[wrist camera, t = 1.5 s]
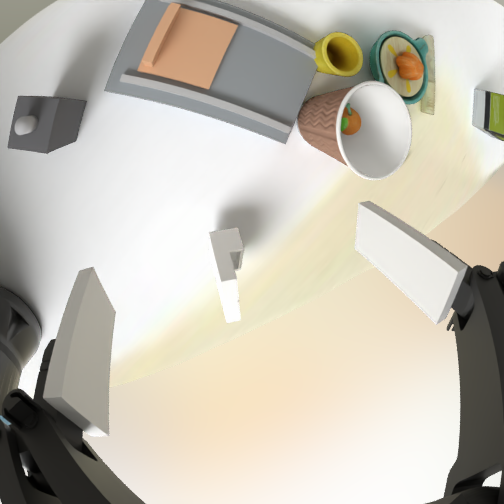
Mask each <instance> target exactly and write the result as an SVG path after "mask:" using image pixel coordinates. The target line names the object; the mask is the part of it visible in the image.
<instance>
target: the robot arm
mask: <svg viewBox="0 0 504 504" xmlns="http://www.w3.org/2000/svg"><path fill="white" fill-rule="evenodd" d="M355 249H356V250H357V251H358V252H359V253H360V254H361V255H362V256H364V257H365V258H366V259H367V260H368V261H369V262H370V263H372V264H373V265H374V266H375V267H376V268H377V269H378V270H379V271H381V272H382V273H383V274H384V275H385V276H386V277H387V278H388V279H389V280H390V281H391V282H393V283H394V284H395V285H396V286H397V287H398V288H399V289H400V290H401V291H402V292H403V293H404V294H405V295H406V296H407V297H409V298H410V299H411V300H412V301H413V302H414V303H415V304H416V305H417V306H418V307H419V308H420V309H421V310H422V311H423V312H424V313H425V314H426V315H427V316H428V317H429V318H430V319H431V320H432V321H433V322H434V323H435V324H436V325H437V324H438V323H440V322H441V321H442V320H444V319H445V318H446V317H447V315H448V313H449V311H450V309H451V308H453V309H454V310H455V312H454V314H453V316H452V318H451V320H450V322H449V324H448V326H447V330H448V331H449V329H450V327H451V325H452V324H454V327H453V328H452V331H455V336H456V343H457V351H458V361H459V375H460V401H461V402H460V403H461V408H460V436H459V449H458V457H457V460H456V462H455V463H454V465H453V466H452V468H451V470H450V472H449V474H448V478H447V483H446V488H445V493H444V497H443V498H441V499H439V500H437V501H434V502H430V503H426V504H504V262H501V264H500V266H499V269H498V271H497V272H492V271H491V270H490V269H488V268H486V267H484V266H481V265H477V266H474V267H473V268H471V267H470V266H468V265H467V264H466V263H465V262H463V261H462V260H461V259H459V258H458V257H457V256H455V255H454V254H452V253H451V252H449V251H448V250H447V249H446V248H443V247H442V246H441V245H440V244H438V243H437V242H436V241H434V240H431V239H429V238H428V237H426V236H425V235H424V234H422V233H421V232H419V231H418V230H416V229H414V228H413V227H411V226H410V225H408V224H407V223H405V222H404V221H402V220H400V219H399V218H397V217H396V216H394V215H392V214H391V213H389V212H387V211H386V210H384V209H383V208H381V207H379V206H377V205H376V204H374V203H372V202H371V201H366V202H361V203H358V217H357V229H356V239H355ZM115 313H116V312H115V310H114V308H113V306H112V304H111V302H110V301H109V299H108V297H107V295H106V293H105V291H104V289H103V287H102V285H101V283H100V281H99V278H98V276H97V274H96V272H95V270H94V268H93V267H91V268H87V269H84V270H80V271H79V273H78V275H77V278H76V281H75V283H74V286H73V288H72V291H71V294H70V297H69V299H68V302H67V305H66V308H65V311H64V314H63V317H62V320H61V324H60V327H59V330H58V334H57V337H56V339H53V340H51V341H50V342H49V344H48V346H47V347H46V349H45V351H44V355H43V358H42V363H41V366H40V372H39V375H38V379H37V384H36V389H35V394H34V399H32V398H31V397H30V396H29V395H27V394H26V393H25V392H24V391H23V390H21V389H18V384H19V380H20V376H21V372H22V369H23V368H24V367H25V365H26V364H27V363H28V362H29V360H30V359H31V358H32V357H33V355H34V354H35V353H36V351H37V349H38V347H39V344H40V340H41V329H40V326H39V323H38V321H37V319H36V317H35V315H34V314H33V313H32V311H31V310H30V309H29V307H28V306H27V305H26V304H25V303H24V302H23V301H22V300H21V299H20V298H18V297H17V296H16V295H14V294H13V293H12V292H10V291H8V290H6V289H4V288H1V287H0V499H1V502H2V504H145V503H144V502H143V501H142V500H141V499H140V498H139V497H137V496H136V495H135V494H134V493H133V492H132V491H131V490H130V489H129V488H128V487H127V486H126V485H125V484H124V483H123V482H122V481H121V480H120V479H119V478H118V477H117V476H116V475H115V474H114V473H113V472H112V471H111V470H110V468H109V467H108V466H107V465H106V464H105V463H104V462H103V461H102V459H101V458H100V457H99V456H98V455H97V454H96V452H95V451H94V450H93V449H92V447H91V446H90V445H89V444H88V442H87V441H85V440H84V439H83V438H82V434H83V433H82V432H83V431H84V432H86V433H87V434H89V435H90V436H92V437H98V436H109V378H110V361H111V349H112V339H113V329H114V321H115ZM24 469H26V470H27V472H28V476H26V475H25V472H24ZM501 470H502V476H501V484H500V487H489V486H482V484H483V482H484V481H485V479H486V478H488V477H489V476H491V475H493V474H495V473H497V472H499V471H501Z"/></svg>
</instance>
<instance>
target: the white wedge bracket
mask: <svg viewBox="0 0 504 504" xmlns="http://www.w3.org/2000/svg"><path fill="white" fill-rule="evenodd" d="M209 246H210V258H211V262H212V266H213V271H214V275H215V279H216V283H217V287H218V291H219V295H220V299H221V303H222V307H223V310H224V314H225V318H226V322H227V323H231V322H235V321H239V320H241V317H240V306H239V296H238V285H237V277H236V274H235V271H238V270H241V265H242V259H243V253H244V246H243V243H242V240H241V237H240V233H239V230H238V227H237V228H232V229H226V230H220V231H214V232H209Z"/></svg>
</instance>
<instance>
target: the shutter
mask: <svg viewBox="0 0 504 504" xmlns="http://www.w3.org/2000/svg"><path fill="white" fill-rule="evenodd" d="M180 6H181V5H180V4H176V3H172V2H171V4H170V5H169V6H168V8H167V10H166V11H165V13H164V15H163V17H162V19H161V21H160V22H159V24H158V26H157V28H156V30H155V32H154V34H153V36H152V38H151V40H150V42H149V45H148V47H147V49H146V51H145V53H144V56H143V58H142V60H141V63H140V65H139V67H138V70H137V71H139V72H144V73H148V74H153V75H157V76H161V77H165V78H169V79H173V80H177V81H180V82H184V83H187V84H191V85H194V86H198V87H201V88H204V89H207V90H208V89H209V88H210V85H211V83H212V81H213V78H214V76H215V74H216V71H217V69H218V67H219V65H220V62H221V60H222V58H223V56H224V54H225V52H226V49H227V47H228V45H229V43H230V41H231V39H232V37H233V35H234V33H235V31H236V29H237V27H238V25H235V24H233V23H230V22H227V21H224V20H221V19H218V18H215V17H212V16H209V15H205V14H202V13H199V12H195V11H191V10H188V9H184V8H180Z"/></svg>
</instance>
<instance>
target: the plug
mask: <svg viewBox="0 0 504 504" xmlns="http://www.w3.org/2000/svg"><path fill="white" fill-rule="evenodd" d="M86 102H87V101H83V100H75V99H68V98H59V97H46V96H18V99H17V103H16V107H15V111H14V116H13V120H12V125H11V131H10V136H9V142H8V148H12V149H19V150H27V151H33V152H40V153H46V154H47V153H49V152H51V151H54V150H56V149H58V148H61V147H63V146H65V145H68V144H70V143H73V142H75V141H76V139H77V135H78V131H79V127H80V123H81V119H82V116H83V112H84V109H85V105H86Z"/></svg>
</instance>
